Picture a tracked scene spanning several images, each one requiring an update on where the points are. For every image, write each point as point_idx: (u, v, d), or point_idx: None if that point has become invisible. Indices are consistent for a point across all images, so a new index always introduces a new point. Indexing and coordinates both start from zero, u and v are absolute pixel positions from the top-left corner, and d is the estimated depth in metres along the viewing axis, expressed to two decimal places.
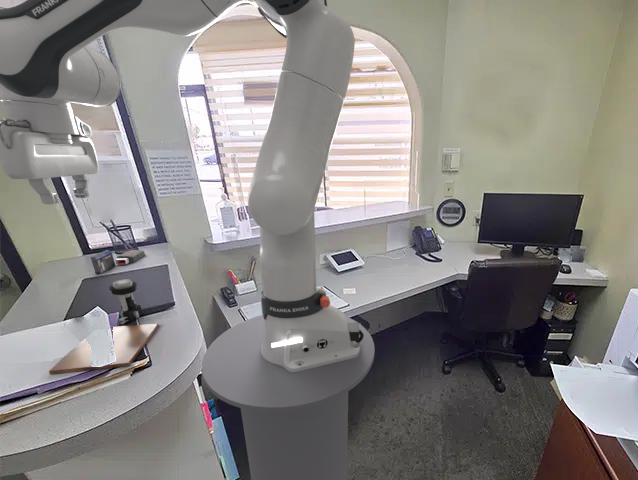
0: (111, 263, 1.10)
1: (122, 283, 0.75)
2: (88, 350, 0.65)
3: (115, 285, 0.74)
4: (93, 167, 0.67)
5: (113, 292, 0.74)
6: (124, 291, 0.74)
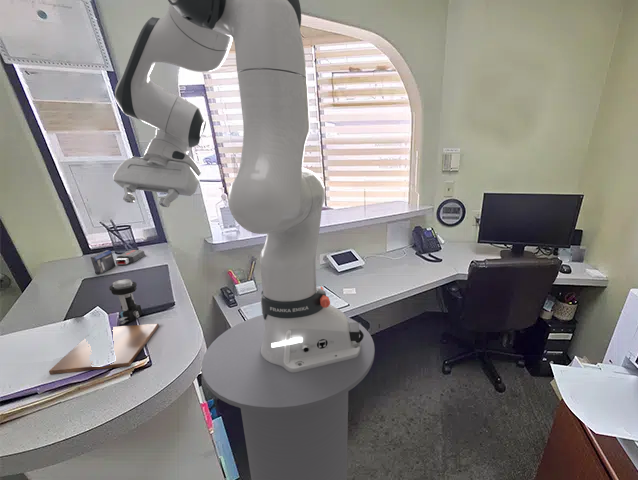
0: (111, 263, 1.10)
1: (122, 283, 0.75)
2: (88, 350, 0.65)
3: (115, 285, 0.74)
4: (179, 183, 0.79)
5: (113, 292, 0.74)
6: (124, 291, 0.74)
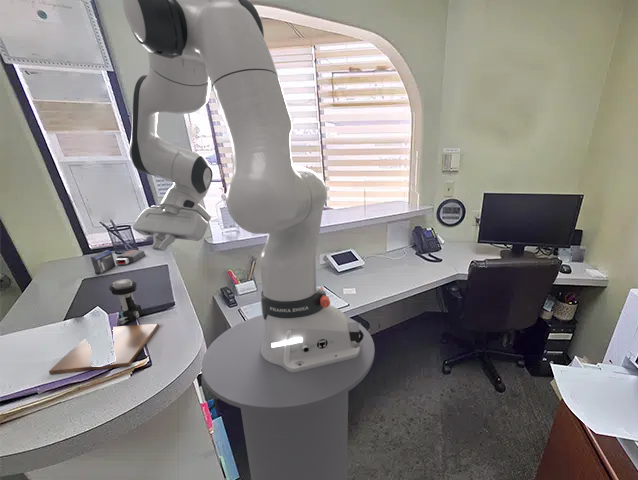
0: (111, 263, 1.10)
1: (122, 283, 0.75)
2: (88, 350, 0.65)
3: (115, 285, 0.74)
4: (187, 230, 0.83)
5: (113, 292, 0.74)
6: (124, 291, 0.74)
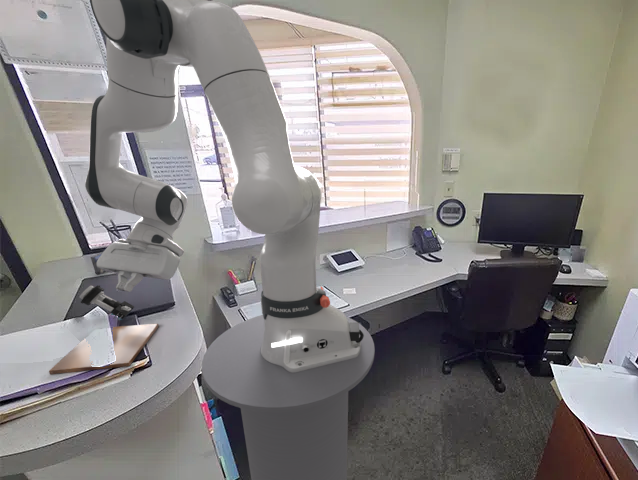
0: None
1: (84, 291, 0.74)
2: (88, 350, 0.65)
3: (81, 296, 0.73)
4: (155, 269, 0.75)
5: (86, 302, 0.74)
6: (91, 294, 0.73)
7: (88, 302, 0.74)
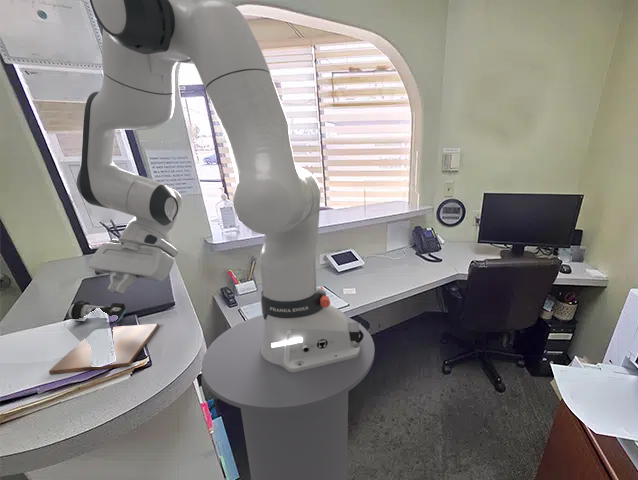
0: None
1: None
2: (88, 350, 0.65)
3: (71, 317, 0.75)
4: (148, 270, 0.73)
5: None
6: (75, 313, 0.73)
7: None
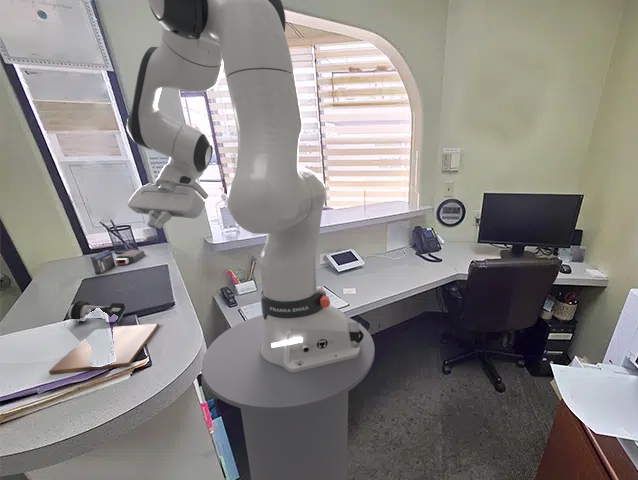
0: (111, 263, 1.10)
1: None
2: (88, 350, 0.65)
3: None
4: (183, 206, 0.80)
5: None
6: (74, 314, 0.73)
7: None
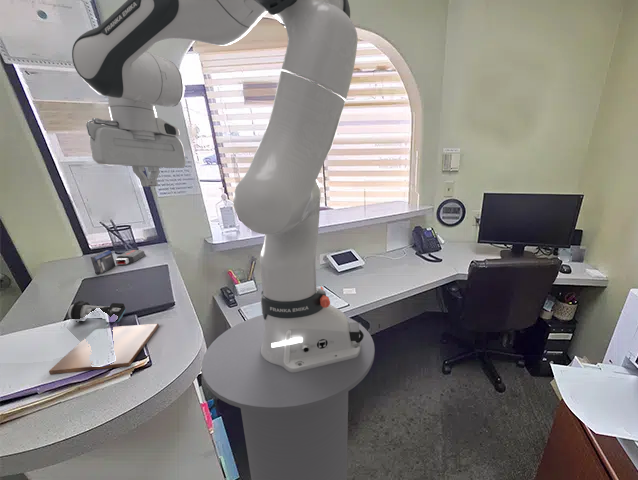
0: (111, 263, 1.10)
1: None
2: (88, 350, 0.65)
3: None
4: (179, 162, 0.81)
5: None
6: (74, 314, 0.73)
7: None
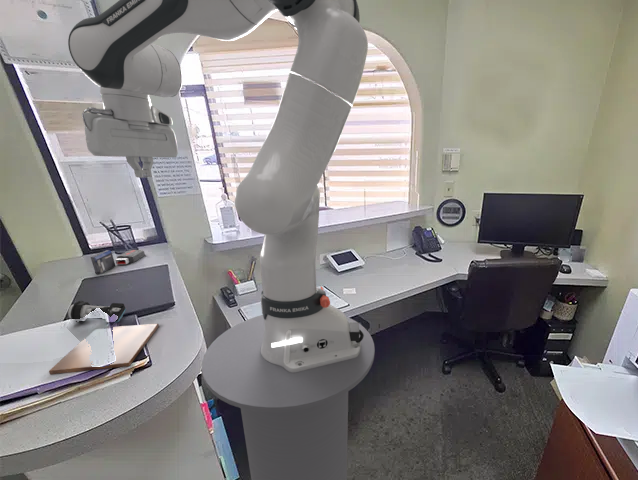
0: (111, 263, 1.10)
1: None
2: (88, 350, 0.65)
3: None
4: (172, 151, 0.79)
5: None
6: (74, 314, 0.73)
7: None
